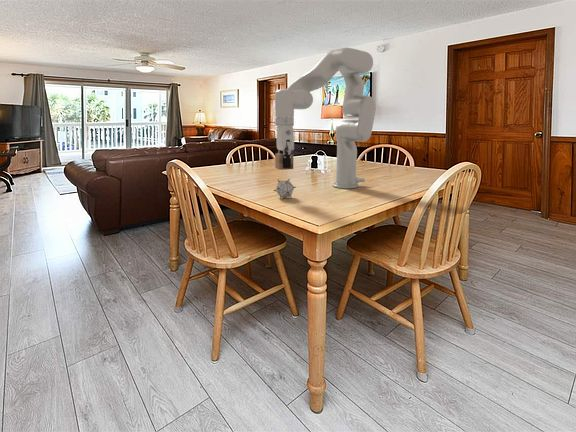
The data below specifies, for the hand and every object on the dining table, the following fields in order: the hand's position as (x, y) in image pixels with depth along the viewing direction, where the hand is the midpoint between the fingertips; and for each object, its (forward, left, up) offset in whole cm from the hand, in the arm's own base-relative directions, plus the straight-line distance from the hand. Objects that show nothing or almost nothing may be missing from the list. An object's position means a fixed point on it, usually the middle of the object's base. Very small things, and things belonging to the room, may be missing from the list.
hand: (284, 166), depth 150 cm
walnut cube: (0, 0, -1) cm, 1 cm away
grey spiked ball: (0, 0, -14) cm, 14 cm away
